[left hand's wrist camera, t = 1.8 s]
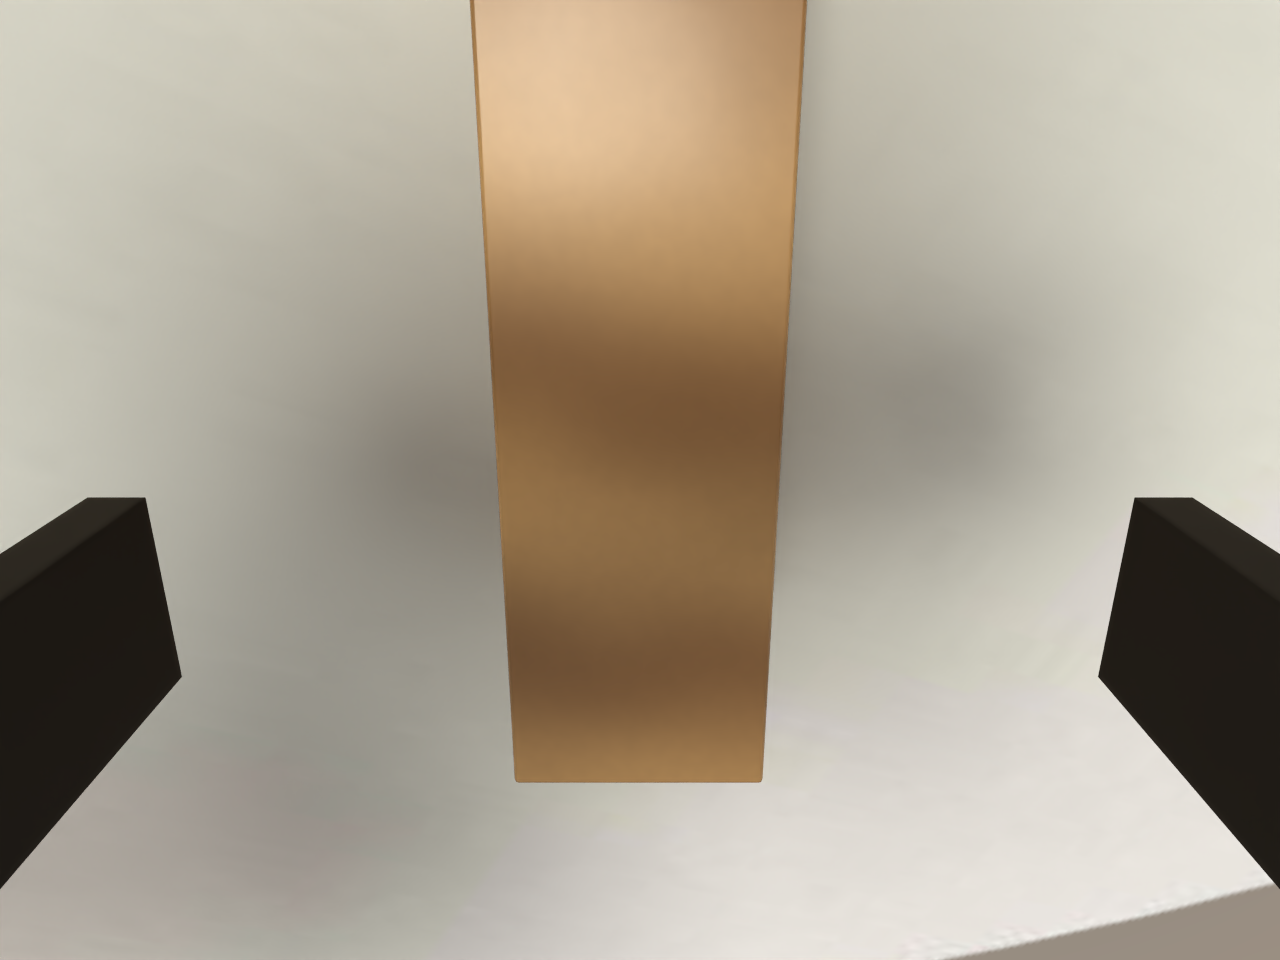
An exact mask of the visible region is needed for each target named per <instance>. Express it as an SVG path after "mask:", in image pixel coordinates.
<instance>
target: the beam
mask: <svg viewBox="0 0 1280 960" xmlns="http://www.w3.org/2000/svg"><path fill="white" fill-rule="evenodd" d="M470 11H471V28H472V46H473V63H474V80H475V98H476V115H477V132H478V149H479V167H480V184H481V201H482V219H483V236H484V253H485V271H486V288H487V305H488V322H489V340H490V357H491V374H492V392H493V409H494V426H495V443H496V461H497V478H498V495H499V513H500V530H501V547H502V565H503V582H504V599H505V616H506V634H507V651H508V668H509V686H510V703H511V720H512V738H513V755H514V772H515V780H516V782H761V780H762V777H763V760H764V743H765V725H766V708H767V690H768V673H769V655H770V638H771V621H772V603H773V586H774V568H775V551H776V534H777V516H778V499H779V481H780V464H781V447H782V429H783V412H784V394H785V377H786V360H787V342H788V325H789V307H790V290H791V273H792V255H793V238H794V220H795V203H796V186H797V168H798V151H799V133H800V116H801V99H802V81H803V64H804V46H805V29H806V12H807V0H470Z"/></svg>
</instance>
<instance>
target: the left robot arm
mask: <svg viewBox="0 0 1280 960" xmlns="http://www.w3.org/2000/svg"><path fill="white" fill-rule="evenodd" d="M181 677H182V675H181V670H180V665H179V660H178V655H177V651H176V646H175V641H174V636H173V631H172V626H171V621H170V616H169V611H168V606H167V601H166V597H165V592H164V587H163V582H162V577H161V572H160V567H159V562H158V557H157V552H156V547H155V543H154V538H153V533H152V528H151V523H150V518H149V513H148V508H147V503H146V498H86V499H85V500H83V501H82V502H80V503H78V504H77V505H75V506H74V507H72V508H71V509H69V510H68V511H66V512H65V513H63V514H61V515H60V516H58V517H57V518H55V519H54V520H52V521H51V522H49V523H47V524H46V525H44V526H43V527H41V528H40V529H38V530H37V531H35V532H34V533H32V534H30V535H29V536H27V537H26V538H24V539H23V540H21V541H20V542H18V543H17V544H15V545H13V546H12V547H10V548H9V549H7V550H6V551H4V552H3V553H1V554H0V889H1V887H2V886H3V885H4V884H5V883H6V882H7V880H8V879H9V878H10V877H11V876H12V875H13V873H14V872H15V871H16V870H17V869H18V868H19V866H20V865H21V864H22V863H23V862H24V861H25V859H26V858H27V857H28V856H29V855H30V854H31V852H32V851H33V850H34V849H35V848H36V847H37V845H38V844H39V843H40V842H41V841H42V840H43V838H44V837H45V836H46V835H47V834H48V833H49V831H50V830H51V829H52V828H53V827H54V826H55V824H56V823H57V822H58V821H59V820H60V819H61V817H62V816H63V815H64V814H65V813H66V812H67V810H68V809H69V808H70V807H71V806H72V804H73V803H74V802H75V801H76V800H77V799H78V797H79V796H80V795H81V794H82V793H83V792H84V790H85V789H86V788H87V787H88V786H89V785H90V783H91V782H92V781H93V780H94V779H95V778H96V776H97V775H98V774H99V773H100V772H101V771H102V769H103V768H104V767H105V766H106V765H107V764H108V762H109V761H110V760H111V759H112V758H113V757H114V755H115V754H116V753H117V752H118V751H119V750H120V748H121V747H122V746H123V745H124V744H125V743H126V741H127V740H128V739H129V738H130V737H131V736H132V734H133V733H134V732H135V731H136V730H137V729H138V727H139V726H140V725H141V724H142V723H143V722H144V720H145V719H146V718H147V717H148V716H149V714H150V713H151V712H152V711H153V710H154V709H155V707H156V706H157V705H158V704H159V703H160V702H161V700H162V699H163V698H164V697H165V696H166V695H167V693H168V692H169V691H170V690H171V689H172V688H173V686H174V685H175V684H176V683H177V682H178V681H179V679H180V678H181ZM1098 677H1099V678H1100V679H1101V681H1102V682H1103V683H1104V684H1105V685H1106V686H1107V688H1108V689H1109V690H1110V691H1111V692H1112V693H1113V695H1114V696H1115V697H1116V698H1117V699H1118V700H1119V702H1120V703H1121V704H1122V705H1123V706H1124V707H1125V709H1126V710H1127V711H1128V712H1129V713H1130V714H1131V716H1132V717H1133V718H1134V719H1135V720H1136V722H1137V723H1138V724H1139V725H1140V726H1141V727H1142V729H1143V730H1144V731H1145V732H1146V733H1147V734H1148V736H1149V737H1150V738H1151V739H1152V740H1153V741H1154V743H1155V744H1156V745H1157V746H1158V747H1159V748H1160V750H1161V751H1162V752H1163V753H1164V754H1165V755H1166V757H1167V758H1168V759H1169V760H1170V761H1171V762H1172V764H1173V765H1174V766H1175V767H1176V768H1177V769H1178V771H1179V772H1180V773H1181V774H1182V775H1183V776H1184V778H1185V779H1186V780H1187V781H1188V782H1189V783H1190V785H1191V786H1192V787H1193V788H1194V789H1195V790H1196V792H1197V793H1198V794H1199V795H1200V796H1201V797H1202V799H1203V800H1204V801H1205V802H1206V803H1207V804H1208V806H1209V807H1210V808H1211V809H1212V810H1213V812H1214V813H1215V814H1216V815H1217V816H1218V817H1219V819H1220V820H1221V821H1222V822H1223V823H1224V824H1225V826H1226V827H1227V828H1228V829H1229V830H1230V831H1231V833H1232V834H1233V835H1234V836H1235V837H1236V838H1237V840H1238V841H1239V842H1240V843H1241V844H1242V845H1243V847H1244V848H1245V849H1246V850H1247V851H1248V852H1249V854H1250V855H1251V856H1252V857H1253V858H1254V859H1255V861H1256V862H1257V863H1258V864H1259V865H1260V866H1261V868H1262V869H1263V870H1264V871H1265V872H1266V873H1267V875H1268V876H1269V877H1270V878H1271V879H1272V880H1273V882H1274V883H1275V884H1276V885H1277V886H1278V887H1279V889H1280V554H1279V553H1277V552H1276V551H1274V550H1273V549H1271V548H1270V547H1268V546H1267V545H1265V544H1263V543H1262V542H1260V541H1259V540H1257V539H1256V538H1254V537H1253V536H1251V535H1250V534H1248V533H1246V532H1245V531H1243V530H1242V529H1240V528H1239V527H1237V526H1236V525H1234V524H1233V523H1231V522H1229V521H1228V520H1226V519H1225V518H1223V517H1222V516H1220V515H1219V514H1217V513H1215V512H1214V511H1212V510H1211V509H1209V508H1208V507H1206V506H1205V505H1203V504H1202V503H1200V502H1198V501H1197V500H1195V499H1194V498H1134V503H1133V508H1132V513H1131V518H1130V523H1129V528H1128V533H1127V538H1126V543H1125V547H1124V552H1123V557H1122V562H1121V567H1120V572H1119V577H1118V582H1117V587H1116V592H1115V597H1114V601H1113V606H1112V611H1111V616H1110V621H1109V626H1108V631H1107V636H1106V641H1105V646H1104V651H1103V655H1102V660H1101V665H1100V670H1099V675H1098Z"/></svg>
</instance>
